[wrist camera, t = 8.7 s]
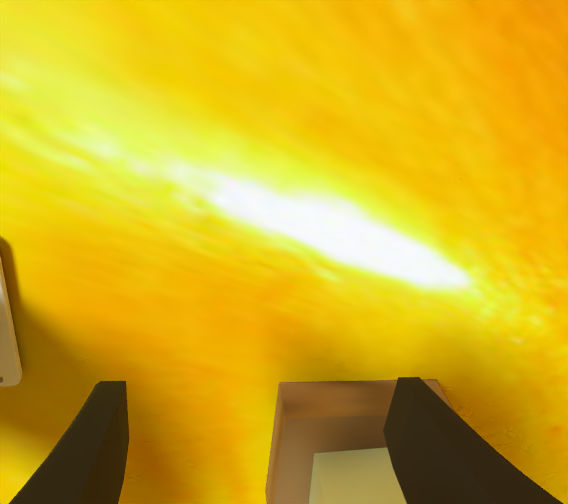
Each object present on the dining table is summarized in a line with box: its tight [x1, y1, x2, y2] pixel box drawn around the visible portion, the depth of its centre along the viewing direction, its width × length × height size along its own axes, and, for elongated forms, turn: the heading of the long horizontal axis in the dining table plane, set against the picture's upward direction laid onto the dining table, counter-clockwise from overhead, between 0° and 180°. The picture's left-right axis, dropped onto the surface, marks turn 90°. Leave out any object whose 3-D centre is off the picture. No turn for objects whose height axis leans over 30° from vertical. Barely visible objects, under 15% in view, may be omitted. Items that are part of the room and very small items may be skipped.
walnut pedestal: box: [265, 379, 455, 504], centre depth 28 cm, size 9×9×3 cm
